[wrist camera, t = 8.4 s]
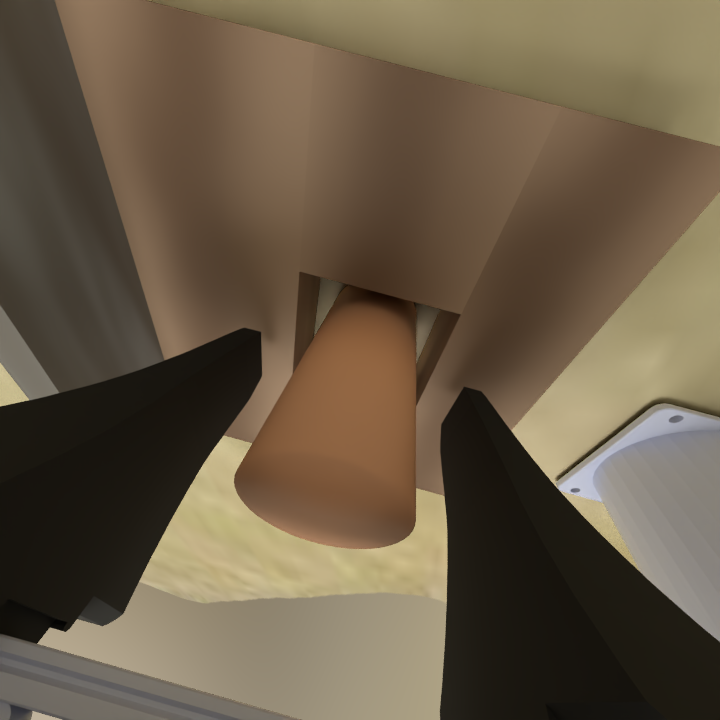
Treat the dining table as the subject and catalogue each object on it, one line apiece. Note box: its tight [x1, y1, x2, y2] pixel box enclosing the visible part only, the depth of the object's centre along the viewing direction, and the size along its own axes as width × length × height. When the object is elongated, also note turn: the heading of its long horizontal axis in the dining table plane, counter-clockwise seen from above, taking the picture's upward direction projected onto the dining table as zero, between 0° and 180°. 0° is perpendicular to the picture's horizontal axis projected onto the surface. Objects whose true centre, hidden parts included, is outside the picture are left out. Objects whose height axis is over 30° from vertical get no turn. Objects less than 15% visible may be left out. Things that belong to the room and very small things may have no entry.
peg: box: [234, 285, 416, 549], centre depth 10 cm, size 4×4×9 cm
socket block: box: [0, 0, 720, 496], centre depth 10 cm, size 18×16×7 cm
